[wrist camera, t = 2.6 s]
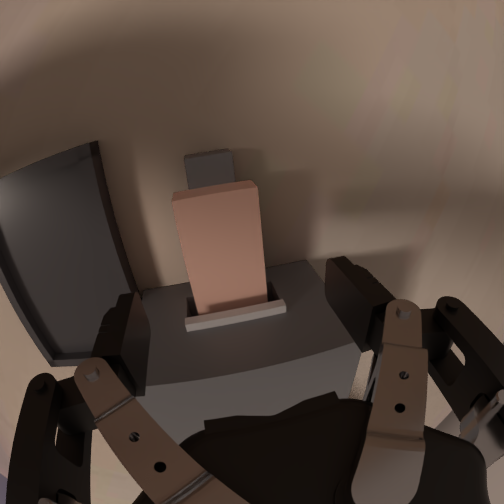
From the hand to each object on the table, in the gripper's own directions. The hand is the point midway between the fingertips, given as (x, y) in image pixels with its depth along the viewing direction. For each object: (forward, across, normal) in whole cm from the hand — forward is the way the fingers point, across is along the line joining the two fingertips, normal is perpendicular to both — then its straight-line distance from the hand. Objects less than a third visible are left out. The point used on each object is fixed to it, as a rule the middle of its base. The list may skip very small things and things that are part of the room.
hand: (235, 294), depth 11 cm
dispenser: (+10, 0, +6) cm, 12 cm away
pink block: (+8, 0, +4) cm, 9 cm away
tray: (+10, +14, +2) cm, 18 cm away
